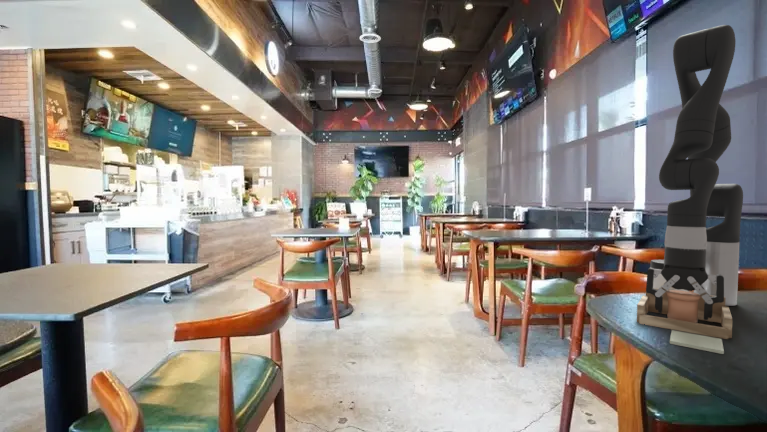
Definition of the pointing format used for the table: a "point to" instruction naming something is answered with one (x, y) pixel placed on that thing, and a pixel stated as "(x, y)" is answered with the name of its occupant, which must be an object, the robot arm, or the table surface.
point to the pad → (697, 341)
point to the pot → (683, 305)
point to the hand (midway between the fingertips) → (682, 315)
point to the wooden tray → (718, 315)
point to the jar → (660, 275)
